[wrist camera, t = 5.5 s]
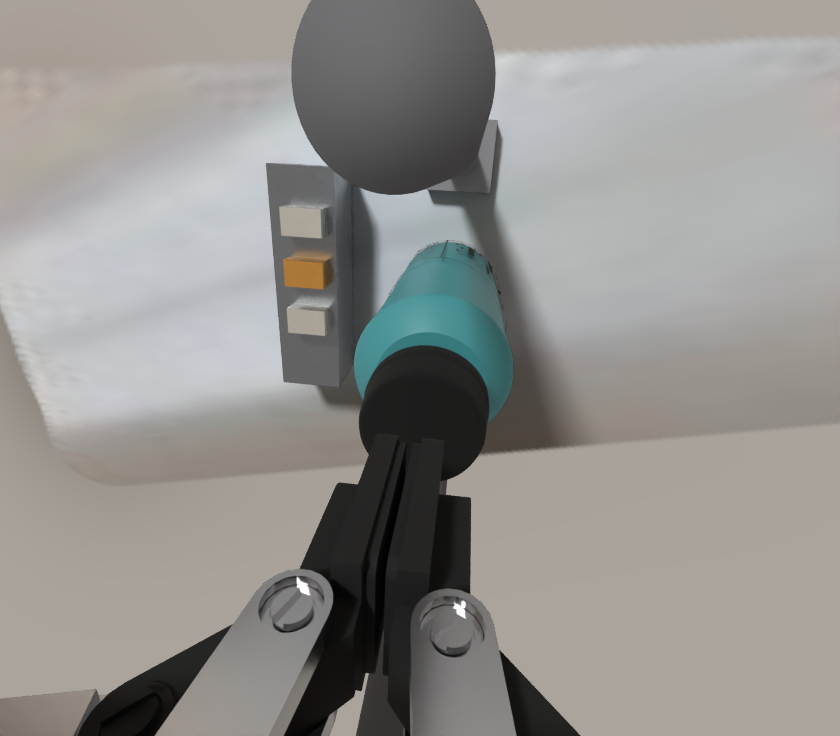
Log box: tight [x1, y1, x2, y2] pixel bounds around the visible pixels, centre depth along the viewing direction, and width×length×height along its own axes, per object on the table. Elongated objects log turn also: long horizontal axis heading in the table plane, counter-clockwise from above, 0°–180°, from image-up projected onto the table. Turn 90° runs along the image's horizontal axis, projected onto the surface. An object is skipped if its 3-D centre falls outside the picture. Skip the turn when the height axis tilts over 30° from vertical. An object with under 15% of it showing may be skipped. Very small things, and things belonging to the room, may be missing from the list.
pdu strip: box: [266, 163, 353, 387], centre depth 30 cm, size 4×14×5 cm, turn 177°
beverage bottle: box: [354, 240, 514, 481], centre depth 22 cm, size 6×7×20 cm
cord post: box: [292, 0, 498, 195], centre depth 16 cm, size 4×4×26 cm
